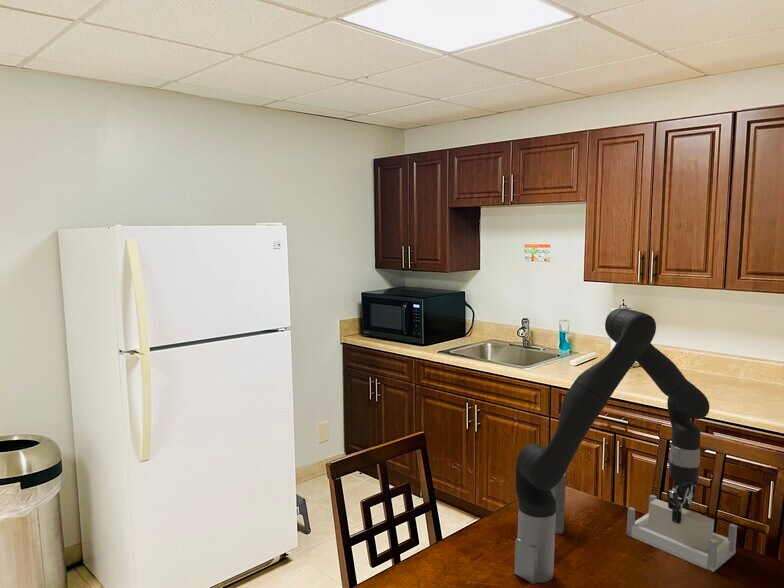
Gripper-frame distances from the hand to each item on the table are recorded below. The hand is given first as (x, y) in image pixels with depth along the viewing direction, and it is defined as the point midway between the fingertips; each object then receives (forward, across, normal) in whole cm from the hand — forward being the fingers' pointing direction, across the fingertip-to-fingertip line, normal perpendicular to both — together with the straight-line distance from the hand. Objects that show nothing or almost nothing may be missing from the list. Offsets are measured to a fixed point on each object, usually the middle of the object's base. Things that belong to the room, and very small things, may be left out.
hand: (680, 519), depth 166 cm
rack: (+7, 0, 0) cm, 7 cm away
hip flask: (+8, -17, +31) cm, 36 cm away
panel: (+6, 0, 0) cm, 6 cm away
